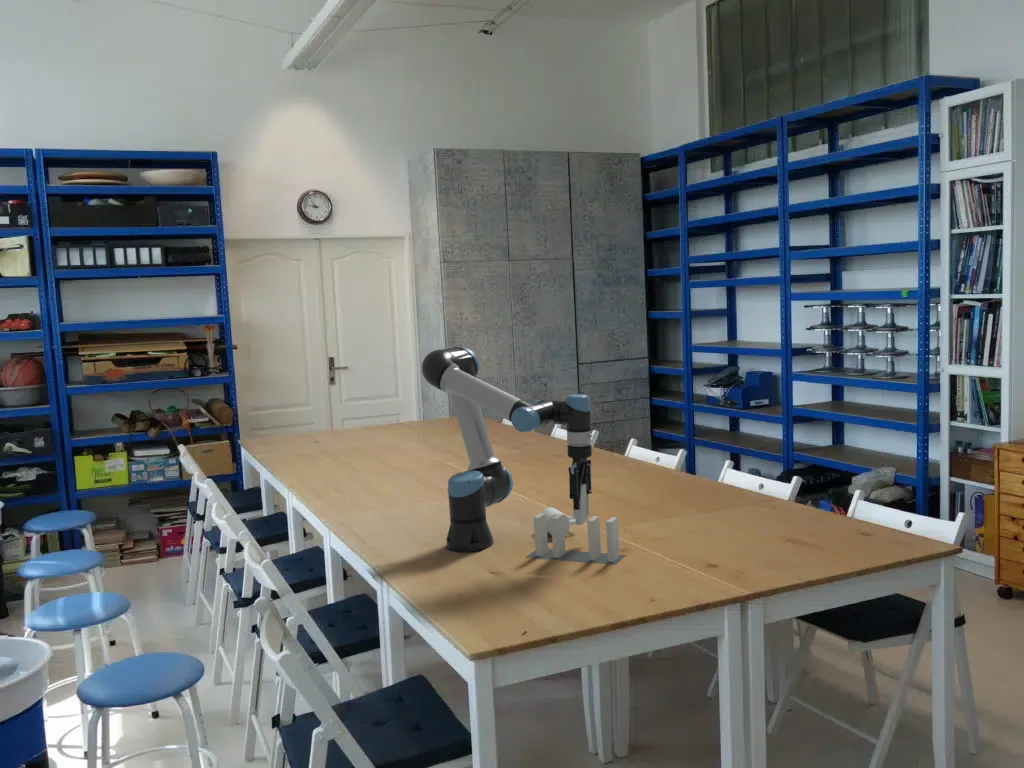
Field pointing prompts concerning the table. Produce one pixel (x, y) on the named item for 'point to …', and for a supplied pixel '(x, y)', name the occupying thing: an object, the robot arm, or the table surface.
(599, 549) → the tile
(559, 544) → the tile
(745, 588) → the table surface
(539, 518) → the tile
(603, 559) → the strip
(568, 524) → the mug
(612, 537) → the tile
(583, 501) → the tile
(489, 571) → the table surface
